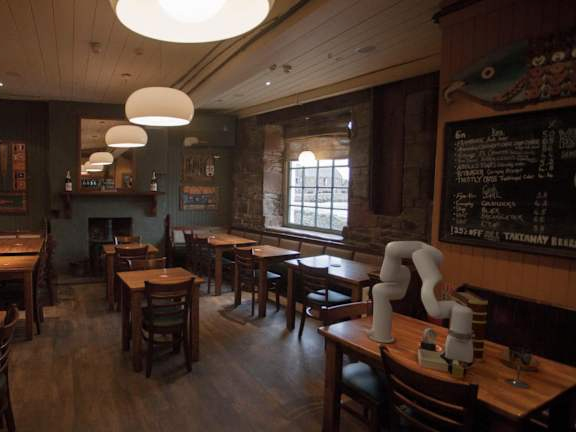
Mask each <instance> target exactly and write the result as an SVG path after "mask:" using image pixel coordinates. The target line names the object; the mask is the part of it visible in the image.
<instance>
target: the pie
mask: <svg viewBox="0 0 576 432" xmlns="http://www.w3.org/2000/svg"><path fill="white" fill-rule="evenodd" d="M498 357H499V358H500V359H501V360H502V362H503V364H505V365H506V366H508V367H510V368H512V369H513V370H516V368H515V367H514V366H513V365H512V363H511V362H510V360H509V355H508V350H505V351H499V352H498ZM541 364H542V363H541V361H540V360H539V359H537V358H536V357H534V356H532V361H531V363H530V365H529V366H528V367H526V368H525V369H523V370H522V372H523V371H524V372H533V371H535V370H536V369H537V368H538V367H540V366H541Z"/></svg>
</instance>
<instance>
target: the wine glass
mask: <svg viewBox="0 0 576 432" xmlns="http://www.w3.org/2000/svg"><path fill="white" fill-rule="evenodd" d="M507 351H508V355H509V360H510V362H511V363H512V365H513V366H514V367H515V368H516V369H515V370H516V379H508V380H507V381H506V382H507V383H508V384H509V385H511V386H513V387H516V388H520V389H529V388H530V387H529V384H527V383H526V382H523V381H521V380H520V376H521V374H522V373H521V372H523V369H525V368H526V367H528V366H529V365H530V363H531V361H532V357H533V351H532V350H530V349H527V348H523V347H520V346H509V347H508V350H507Z"/></svg>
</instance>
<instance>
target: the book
mask: <svg viewBox="0 0 576 432" xmlns="http://www.w3.org/2000/svg"><path fill="white" fill-rule="evenodd" d="M441 353H442V352H440V351H428V350H425V349H422V348H417V359H418V363H419V367H421V368H425V369H431V370H436V371H441V372H448V373H449V371H448V363H447V362H446V361H445V360H444V359H442V358H441V357H440V354H441ZM445 357H446V355H445ZM446 358H447V357H446ZM447 359H448V358H447ZM452 364H458V365H459V363H458V361H457V360H453V362H452Z"/></svg>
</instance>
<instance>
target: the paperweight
mask: <svg viewBox="0 0 576 432" xmlns="http://www.w3.org/2000/svg"><path fill="white" fill-rule="evenodd" d="M452 366H453V370H452V375H451V376H452V377H456V378H462V379H463V378H464V377H463V373H464V369H463V364H461V365H458V364H452Z"/></svg>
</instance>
